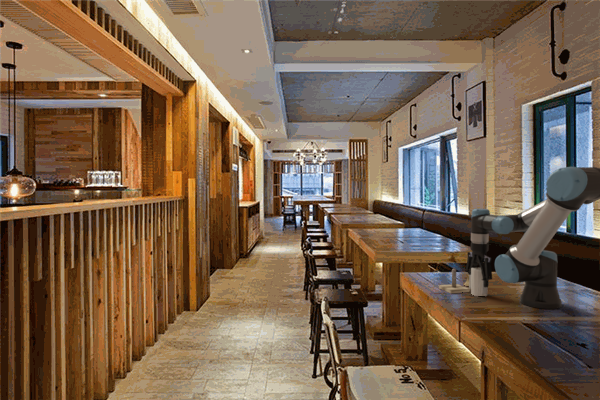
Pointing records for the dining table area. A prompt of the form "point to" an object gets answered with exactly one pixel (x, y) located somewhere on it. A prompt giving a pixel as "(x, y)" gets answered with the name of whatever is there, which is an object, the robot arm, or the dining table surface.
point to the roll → (476, 281)
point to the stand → (454, 285)
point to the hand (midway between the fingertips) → (478, 290)
